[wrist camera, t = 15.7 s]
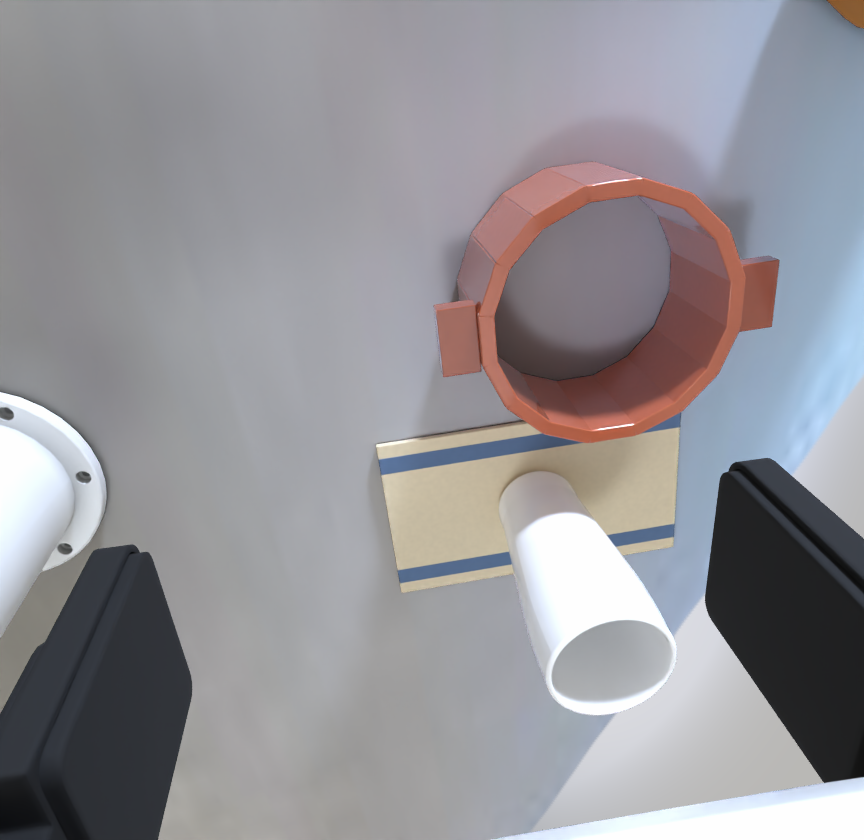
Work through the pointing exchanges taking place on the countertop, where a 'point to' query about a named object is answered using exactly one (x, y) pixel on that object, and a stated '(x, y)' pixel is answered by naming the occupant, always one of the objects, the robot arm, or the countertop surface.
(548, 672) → the drinking glass
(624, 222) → the countertop surface
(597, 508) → the tea towel
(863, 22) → the coffee package
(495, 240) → the cooking pot
